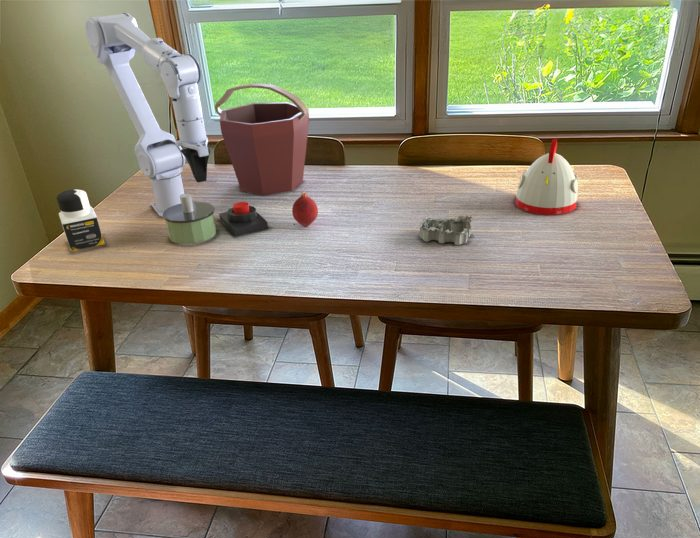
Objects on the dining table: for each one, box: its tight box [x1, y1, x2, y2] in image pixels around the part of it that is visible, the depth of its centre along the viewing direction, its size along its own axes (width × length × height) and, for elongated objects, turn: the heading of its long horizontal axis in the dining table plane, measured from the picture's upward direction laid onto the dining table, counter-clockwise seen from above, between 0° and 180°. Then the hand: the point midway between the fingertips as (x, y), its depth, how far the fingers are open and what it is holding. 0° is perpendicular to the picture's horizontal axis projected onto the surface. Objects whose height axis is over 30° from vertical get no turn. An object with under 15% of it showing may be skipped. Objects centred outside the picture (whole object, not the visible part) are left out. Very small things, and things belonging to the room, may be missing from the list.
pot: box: [164, 213, 217, 245], centre depth 137 cm, size 10×10×6 cm
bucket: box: [214, 82, 310, 196], centre depth 159 cm, size 24×22×25 cm
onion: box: [291, 191, 319, 228], centre depth 139 cm, size 6×6×8 cm
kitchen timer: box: [515, 138, 579, 216], centre depth 142 cm, size 14×14×15 cm
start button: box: [232, 201, 250, 214], centre depth 141 cm, size 4×4×2 cm
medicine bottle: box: [56, 188, 105, 252], centre depth 134 cm, size 7×7×12 cm
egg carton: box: [419, 215, 473, 246], centre depth 132 cm, size 11×8×4 cm
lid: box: [162, 192, 215, 223], centre depth 135 cm, size 11×11×5 cm
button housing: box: [218, 205, 269, 237], centre depth 142 cm, size 11×8×4 cm
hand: (201, 180), depth 138 cm, fingers closed
